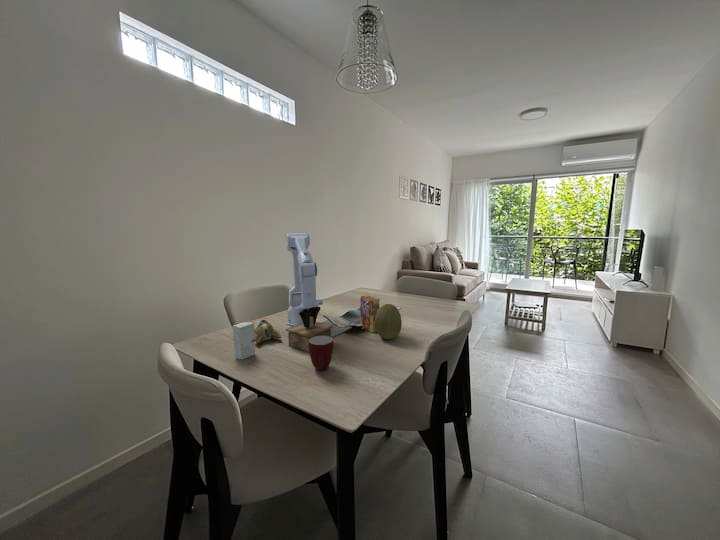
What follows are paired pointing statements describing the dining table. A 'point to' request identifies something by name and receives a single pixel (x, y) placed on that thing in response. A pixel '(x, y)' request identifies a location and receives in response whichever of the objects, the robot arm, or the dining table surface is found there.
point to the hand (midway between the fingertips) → (309, 325)
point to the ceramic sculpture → (264, 331)
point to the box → (303, 340)
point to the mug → (321, 351)
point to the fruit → (388, 321)
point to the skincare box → (244, 340)
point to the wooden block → (312, 329)
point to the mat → (336, 329)
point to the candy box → (369, 312)
